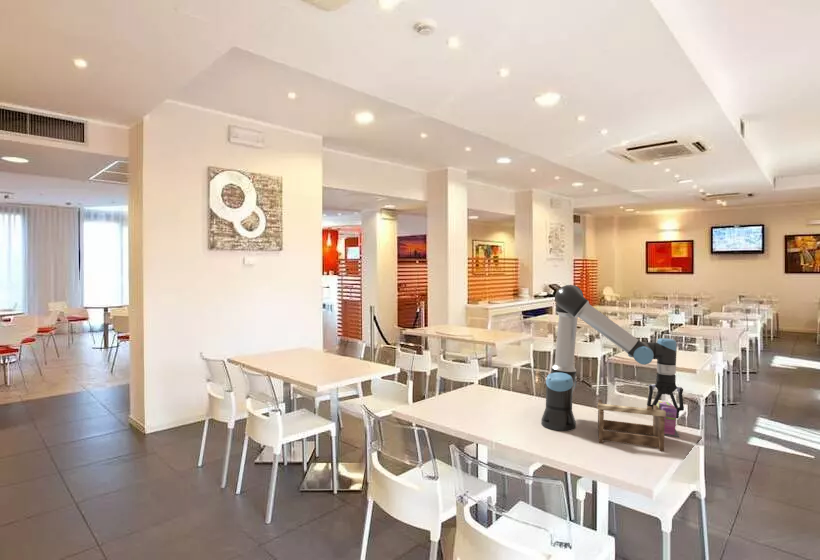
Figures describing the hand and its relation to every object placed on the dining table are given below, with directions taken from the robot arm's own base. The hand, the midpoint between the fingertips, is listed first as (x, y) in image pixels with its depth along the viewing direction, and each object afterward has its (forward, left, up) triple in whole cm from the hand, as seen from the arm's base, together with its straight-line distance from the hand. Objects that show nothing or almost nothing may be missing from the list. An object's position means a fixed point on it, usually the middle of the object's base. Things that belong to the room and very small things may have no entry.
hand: (664, 424), depth 211 cm
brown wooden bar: (-16, -22, +10) cm, 29 cm away
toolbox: (-16, -16, -3) cm, 23 cm away
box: (0, 0, -3) cm, 3 cm away
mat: (0, 0, -3) cm, 3 cm away
